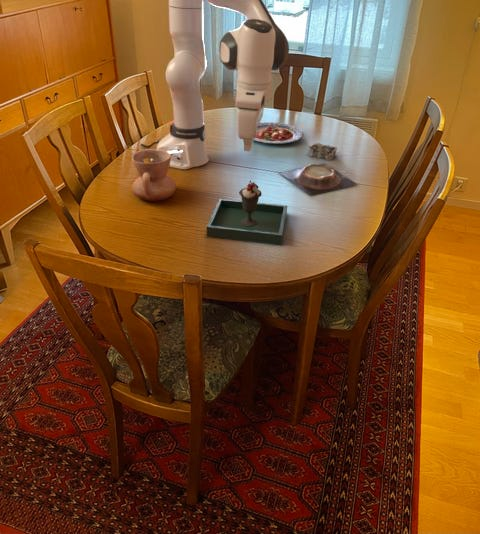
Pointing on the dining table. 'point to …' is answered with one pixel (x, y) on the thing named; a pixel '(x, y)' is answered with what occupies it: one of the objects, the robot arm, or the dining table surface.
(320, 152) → the egg carton
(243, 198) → the sundae
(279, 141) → the ceramic plate
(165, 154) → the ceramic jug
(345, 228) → the dining table surface
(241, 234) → the serving tray
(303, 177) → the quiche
